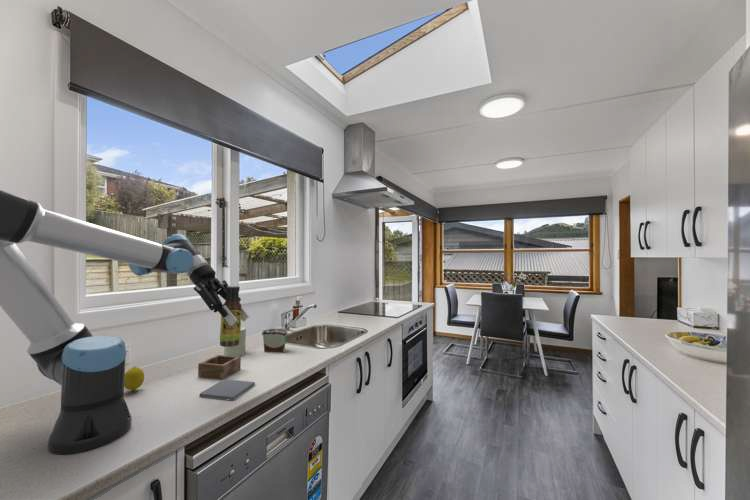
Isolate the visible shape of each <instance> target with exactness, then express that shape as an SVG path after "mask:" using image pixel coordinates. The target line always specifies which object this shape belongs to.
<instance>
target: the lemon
mask: <svg viewBox="0 0 750 500" xmlns="http://www.w3.org/2000/svg"><path fill="white" fill-rule="evenodd" d="M144 380H145V373H144V371H143V369H142V368H141V367H136V366H133V367H131V368H129V369H127V370H126V371H125V380H124V389H126V390H129V391H132V392H135V391H136V390H137V389H139V388H140V387H142V385H143V383H144V382H145V381H144Z"/></svg>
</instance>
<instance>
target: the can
mask: <svg viewBox="0 0 750 500" xmlns="http://www.w3.org/2000/svg"><path fill="white" fill-rule="evenodd" d="M246 334H247V328H246V327H245V326H241V330H240V339H239V344H238V345H237V346H232V347H223V349H224V350H223V355H225V356H237V357H241V356H243V355H245V354H246V340H247V339H246V336H247V335H246Z"/></svg>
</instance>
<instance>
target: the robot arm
mask: <svg viewBox="0 0 750 500" xmlns="http://www.w3.org/2000/svg"><path fill="white" fill-rule="evenodd" d="M25 242H30V243H31V242H32V243H36V244H40V245H45V246H50V247H54V248H57V249H63V250H67V251H70V252H71V251H72V252H75V253H81V254H85V255H89V256H93V257H99V258H102V259H108V260H112V261H116V262H121V263H125V264H128V266H129V269H130V271H131V272H132V273H133V274H134V275H136V276H138V277H141V276H145V275H149V274H151V273H162V274H164V273H166V274H174V275H180V274H184V273H185V275H186V276H187V277H188V278H189V279H190V281H191V282H192V284H193V285H194V287H193V290H194V291H195V292H196V293H198V295H199V296H200V298H201V299H202V300H203V302H204V303H205V304H206V306H207V307H208V308H209V310H211V311H213V312H214V313H217V312H218V313H219V314H220V316H221V315H222V317H224V318H225V320H226V321H227V322H228V323H229V325H230V326H232V325H233V324H234V323H235V322H236V321H237V319H236V317H235V316H234V315H233V314H232V313H231V311H230V310H229V309H228V308H227V307H226V305H224V306H223V304H224V303H222V300H221V299H220V297H221V298H222V299H223V300H225V301H226V297H227V291H226V289H227V286H230V285H229V284H228V283H227V281H226V280H225V279H223V280H222V281H220V280H219V279H218V278H216V275H217V273H216V271H215V269H213V267H212V266H211V265H210V264H209V263H208V261H207V260H206V259H205V257H204V256H203V255H202V254H201V253H200V252H199V251H198V250H197V249H196V247H195V245H193V243H192V241H191V240H189V238H187V236H185V235H184V234H182V233H174V234H172V235H171V236H167V238H165V239H164V241H163V243H162V244H161V243H158V242H156V241H152V240H149V239H145V238H141V237H138V236H135V235H131V234H128V233H124V232H121V231H118V230H115V229H113V228H112V229H111V228H107V227H106V226H105V227H104V226H101V225H97V224H95V223H90V222H88V221H83V220H81V219H78V218H74V217H70V216H68V215H65V214H61V213H57V212H55V211H54V212H53V211H51V210H47V209H44V208H43V207H42V205H41V204H40V202H36V201H33V200H31V199H27V198H24V197H21V196H18V195H16V194H14V193H13V194H12V193H9V192H7V191H4V190H1V189H0V307H1V309H2V310H3V311H4V312H5V314H6V315H7V316H8V317H9V319H11V321H12V322H13V323H14V324H15V325H16V326H17V328H18V329H19V330H20V332H21V333H22V334H23V336H25V338H26V339H27V340H28V341H29V346H28V348H27V349H26V352H27V354H28V355H29V356H30V357H31V359H32V360H33V361H34V362H35V363H36V367H37V368H38V371H39V372H40V374H41V375H43V377H45V378H47V379H49V380H52V381H54V382H56V383H57V384H59V385H60V386H61V390H60V391H61V393H60V412H59V415H58V417H57V419H56V421H55V424H54V426H53V429H52V431H51V433H50V434H49V437H48V446H47V448H48V451H49V453H50V452H51V454H56V455H69V454H70V455H71V454H77V453H81V452H82V453H83V452H86V451H90V450H93V449H96V448H100V447H103V446H105V445H107V444H110V443H112V442H113V441H115V440H117V439H120V438H121V437H122V436H124V435H125V434H126V433H127V432H128V431H130V430H131V427H132V414H131V412H130V409H129V407H128V405H127V402H126V399H125V387H124V380H125V373H126V358H127V349H126V343H125V341H124V340H123V339H122V338H120V337H117V336H112V335H110V336H107V335H96V336H94V335H93V334H92V333H91V332H90V330H89V329H88V327H86V324H85V323H82V322H74V321H73V320H72V318H71V317H70V316H69V314H68V313H67V311H66V310H65V309H64V307H63V306H62V305H61V303H60V302H59V301H58V300H57V298H56V296H55V295H54V294H53V293H52V291H51V290H50V289H49V288H48V286H47V284H46V283H45V282H44V281H43V279H42V278H41V276H40V275H39V274H38V272H37V271H36V270H35V268H34V267H33V265H32V264H31V263H30V262H29V260H28V259H27V257H26V256H25V255H24V253H23V252H22V251H21V249H20V247H18V245H17V244H21V243H25ZM238 298H239V302H240V303H241V301H242V299H241V297H240V296H238ZM222 306H223V307H222ZM249 317H250V315H249V313H248V312H247V311H246V309H245V308H244V307H243V306H242V305H241V322H245V321H246V320H247V319H249Z"/></svg>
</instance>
